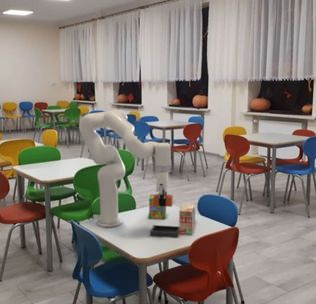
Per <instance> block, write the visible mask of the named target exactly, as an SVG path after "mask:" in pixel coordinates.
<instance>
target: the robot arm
mask: <svg viewBox="0 0 316 304" xmlns="http://www.w3.org/2000/svg"><path fill="white" fill-rule="evenodd" d="M127 115H128V114H127V113H126V112H125V110H122V109H111V110H107V111H99V112H92V113H87V114H85V115H83V116H82V118H81V119H80V120H79V125H78V128H79V129H78V130H79V132H80V135H81V137H82V140H83V141H84V143H85V145H86V147H87V149H88V151H89V155H90V156H91V158H92V161H93V163H94V164H96V165H104V164H106V165H104V166H102V167H100V168H99V170H98V171H97V182H98V187H99V214H92V218H93V220H97V225H99V226H100V227H105V228H111V227H117V226H120V225H122V219H120V218H119V192H118V191H119V190H118V187H117V184H116V182H117V181H121V180H122V179H123V178H124V177H125V175H126V167H125V164H124V162H123V160H122V158H121V156H120V154H119V151H118V149H117V148H116V147H115V146H114V145H112V144H105V143H104V141H103V139H102V137H101V136H100V134H99V133H98V132H97V131H96V130H98V129H99V130H100V129H104V128H109V129H111V130H112V132H114V133H115V134H117V135H118V136H119V137H120V138H121V139H122V141H123V144H124V145H125V147H126V149H127V150H128V151H129V152H130V153H132V154H133V155H134V156H135V157H137V158H138V159H141V160H146V159H148V158H152V157H154V169H155V170H154V172H155V173H156V183H155V185H156V186H155V187H156V188H155V192H156V193H158V194H159V206H166V198H165V195H168V189H169V173H171V172H172V171H171V163H172V162H171V144H170V143H169V142H157V141H154V140H153V141H146V142H142V141H140V139H138V138H137V136H135V133H134V132H135V126H134V125H133V124H132V123H131V122H129V121H128V116H127ZM166 207H167V206H166Z"/></svg>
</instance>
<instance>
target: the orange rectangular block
mask: <svg viewBox="0 0 316 304" xmlns="http://www.w3.org/2000/svg"><path fill="white" fill-rule="evenodd" d="M158 194H159V193H158ZM158 194H156V193H155V194H153V195H154V197H153V206H159V195H158ZM165 198H166V207H170V208H172V207H173V204H174V195H173V194H167V195H165Z"/></svg>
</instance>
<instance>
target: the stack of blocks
mask: <svg viewBox="0 0 316 304" xmlns="http://www.w3.org/2000/svg"><path fill="white" fill-rule="evenodd" d="M178 213H179V217H178V218H179V219H178V222H179V223H178V224H179V226H178V227H179V235H183V236H185V235H186V236H192V234H193V232H194V226H195V222H196V204H194V203H181V206H180V209H179V212H178Z"/></svg>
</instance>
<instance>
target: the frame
mask: <svg viewBox="0 0 316 304" xmlns="http://www.w3.org/2000/svg"><path fill="white" fill-rule="evenodd" d="M149 233H150V235H149V236H150V237H163V238H164V237H166V238H179V235H180V234H179V226H177V225H176V226H174V225H173V226H172V225H156V224H153V225H152V227H151V229H150V232H149Z"/></svg>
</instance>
